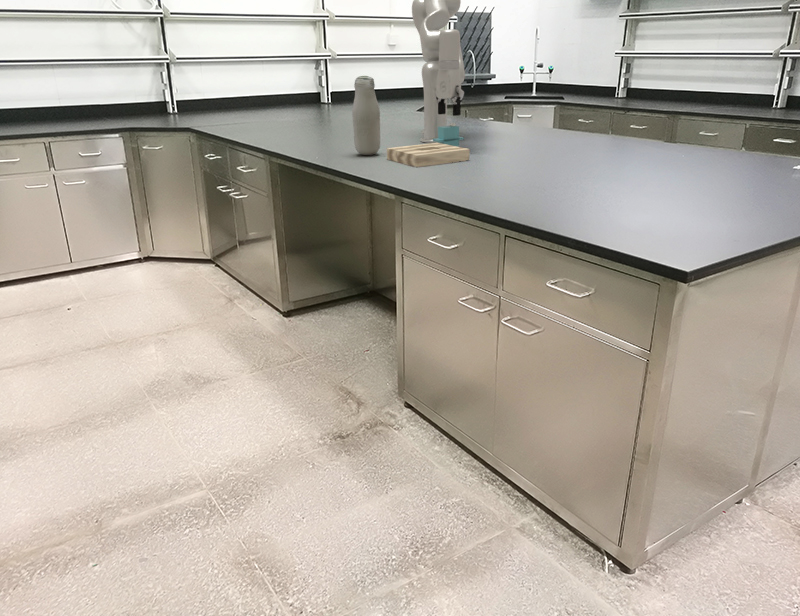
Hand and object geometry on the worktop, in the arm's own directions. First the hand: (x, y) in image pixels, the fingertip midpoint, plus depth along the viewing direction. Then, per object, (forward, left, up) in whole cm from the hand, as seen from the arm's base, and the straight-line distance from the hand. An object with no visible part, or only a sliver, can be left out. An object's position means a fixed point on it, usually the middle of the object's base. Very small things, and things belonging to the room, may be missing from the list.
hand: (449, 114), depth 236 cm
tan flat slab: (+12, -18, -13) cm, 25 cm away
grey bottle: (-11, -30, -14) cm, 34 cm away
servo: (-1, 0, -13) cm, 13 cm away
